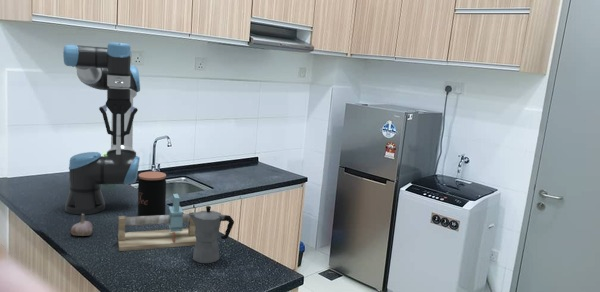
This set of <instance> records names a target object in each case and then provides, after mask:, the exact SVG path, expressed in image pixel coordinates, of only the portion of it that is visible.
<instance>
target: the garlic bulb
mask: <svg viewBox="0 0 600 292" xmlns="http://www.w3.org/2000/svg"><path fill="white" fill-rule="evenodd" d="M85 215H86V214H80V221H79V222H78V223H75V224H73V225H72V226H71V228H70V234H71V235H73V236H76V237H78V236H81V237H85V236H86V237H89V236H90V237H91V235H93V231H94V230H93V227H94V226H93V224H92V222H90V221H88V220H85Z"/></svg>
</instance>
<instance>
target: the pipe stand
mask: <svg viewBox="0 0 600 292" xmlns="http://www.w3.org/2000/svg"><path fill="white" fill-rule="evenodd" d="M190 213H193V211H192V212H189V213H183V223H188V228H182V231H176V232H171V231H170V229H161V230H160V229H158V230H157V229H156V230H145V231H144V230H143V231H141V230H140V231H129V232H128V231H127V232H126V227H129V226H147V225H162V224H166V225H167V224H168V223H170V219H171V215H169V214H165V215H156V216H138V215H137V216H125V215H119V216H118V233H117V234H118V235H117V238H118V242H117V243H118V252H127V251H139V250H140V251H141V250H150V249H152V250H155V249H165V248H166V249H168V248H177V247H178V248H179V247H191V246H193V247H194V246H195V243H196V239H197V236H196V226H195V224H194V222H193V220H192V218H191V217H190V216H189V214H190Z"/></svg>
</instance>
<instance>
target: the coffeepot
mask: <svg viewBox="0 0 600 292" xmlns="http://www.w3.org/2000/svg"><path fill="white" fill-rule="evenodd" d="M205 208H206V209H205V210H200V211H194V212H193V211H192V212H193V213H192V212H189V213H190V214H189V213H188V214H189V216H190V217H191V218H192V220H193V222H194V224H195V236H196V243H195V245H194V249H193V253H192V260H193V261H194V262H196V263H200V264H211V263H214V262H215V263H216V262H218V261H219V259H220V258H221V257H220V249H219V243H218V242H219V241H218V236H219V234H220V233H219V232H220V228H221V223H222V222H228V224H227V226H226V230H225V232H224V235H221V236H220V238H221V239H222V240H227V239H228V238H229V236H230V233H231V231H232V228H233V227H234V223H235V221H234V219H233V218H232V216H231V215H226V214H222V213H221V212H218V211H215V210H211V208H212V207H211V206H210V205H206V207H205Z"/></svg>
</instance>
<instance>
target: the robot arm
mask: <svg viewBox="0 0 600 292" xmlns="http://www.w3.org/2000/svg"><path fill="white" fill-rule="evenodd" d="M131 55H132V51H131V44H129V43H124V42H112V41H110V42H108V43H107V47H103V46H91V45H89V46H88V45H77V44H66V45H64V47H63V64H64V66H66V67H72V68H75V69H76V76H77V77H78V79H79V81H80V82H81V83H83V84H84V85H86V86H87V87H89V88H93V89H95V90H101V91H102V90H103V91H106V97H107V98H106V101H105V104H104V105H102V106H100V107H99V108H98V110H99V112H100V113H101V114H102V118H103V123H104V125H105V128H106V134H107V135H110V149H109V150H107V151H106V156H105V155H104V156H102V153H100V152H98V151H88V152H80V153H78V154H74V155H72V156H71V157H70V159H69V163H68V164H69V165H68V166H69V167H68V170H69V172H68V173H69V191H68V196H67V198H66V200H65V205H64V211H65V212H66V213H69V214H72V215H81V214H84V215H92V214H97V213H100V212H102V211H105V209H106V202H105V198H104V196H103V195H104V194H103V193H102V189H101V186H102V185H132V184H135V183H136V181H137V179H138V175H139V168H140V166H139V165H140V159H141V158H140V156H138V155H137V151H135V149H133V145H134V143H133V136H134V134H133V130H134V129H133V128H134V127H133V125H134V124H133V123H134V118H135V115H136V114H137V112H138V110H139V109H138V108H137V107H135V106H134V98H136V97H137V93H140V91H141V83H140V82H141V81H140V75H139V69H138V67H137V66H136V65H132V64H131V60H132V59H131V58H132V57H131ZM107 110H109V112H110V113H111V126H110V123H109V122H110V121H109V118H108V116H107V115H108V114H107Z"/></svg>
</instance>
